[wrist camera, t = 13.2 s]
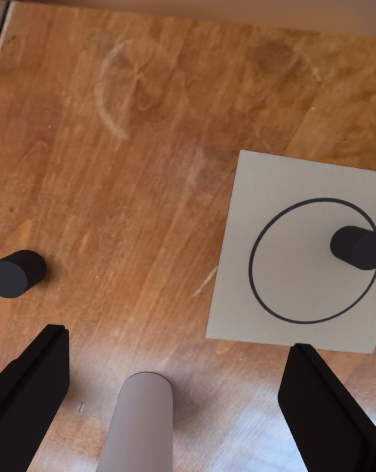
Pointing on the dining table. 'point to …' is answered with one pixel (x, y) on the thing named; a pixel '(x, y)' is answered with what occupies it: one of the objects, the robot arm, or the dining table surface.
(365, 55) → the dining table surface
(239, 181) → the paper sheet
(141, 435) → the mug
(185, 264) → the dining table surface
